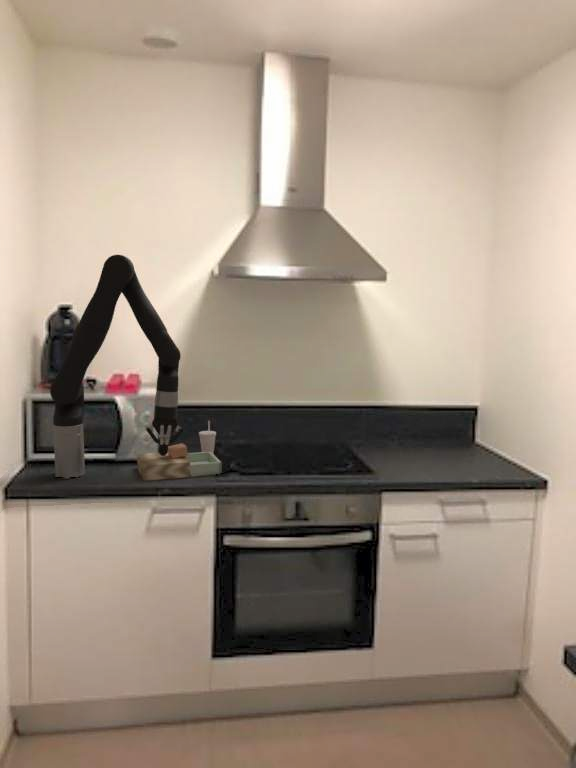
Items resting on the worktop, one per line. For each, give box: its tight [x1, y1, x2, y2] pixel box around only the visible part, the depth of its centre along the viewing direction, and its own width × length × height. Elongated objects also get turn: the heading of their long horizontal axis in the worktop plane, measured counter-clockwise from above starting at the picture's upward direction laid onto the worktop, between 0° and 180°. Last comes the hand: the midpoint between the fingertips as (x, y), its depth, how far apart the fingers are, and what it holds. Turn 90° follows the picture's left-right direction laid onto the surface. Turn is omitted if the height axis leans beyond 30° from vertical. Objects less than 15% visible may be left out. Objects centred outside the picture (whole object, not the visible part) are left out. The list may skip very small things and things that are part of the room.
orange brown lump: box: [168, 443, 189, 459], centre depth 219 cm, size 6×6×3 cm
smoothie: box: [198, 420, 217, 454], centre depth 236 cm, size 6×6×14 cm
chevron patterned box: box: [136, 451, 191, 482], centre depth 217 cm, size 15×16×5 cm
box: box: [185, 451, 223, 478], centre depth 222 cm, size 10×16×4 cm, turn 20°
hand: (162, 455), depth 217 cm, fingers closed
